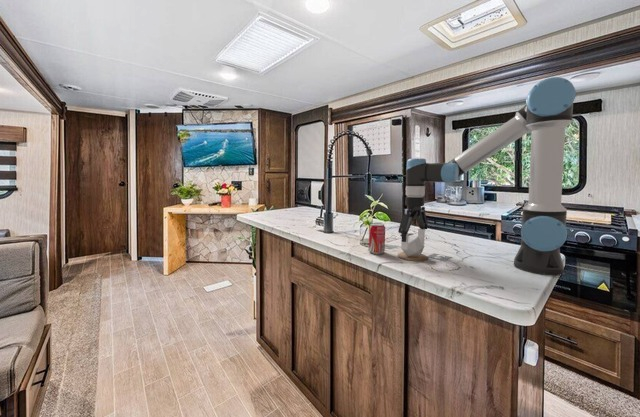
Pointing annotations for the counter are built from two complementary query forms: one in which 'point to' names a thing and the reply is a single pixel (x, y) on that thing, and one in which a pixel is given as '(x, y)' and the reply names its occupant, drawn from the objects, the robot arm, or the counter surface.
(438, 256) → the tile
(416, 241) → the die
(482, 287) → the counter surface
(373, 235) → the soda can
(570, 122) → the robot arm
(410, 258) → the coaster
